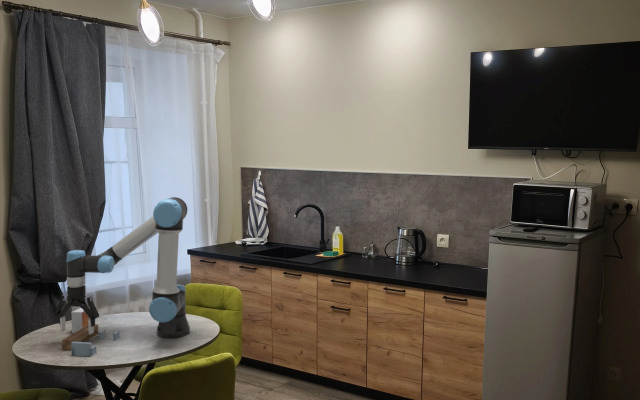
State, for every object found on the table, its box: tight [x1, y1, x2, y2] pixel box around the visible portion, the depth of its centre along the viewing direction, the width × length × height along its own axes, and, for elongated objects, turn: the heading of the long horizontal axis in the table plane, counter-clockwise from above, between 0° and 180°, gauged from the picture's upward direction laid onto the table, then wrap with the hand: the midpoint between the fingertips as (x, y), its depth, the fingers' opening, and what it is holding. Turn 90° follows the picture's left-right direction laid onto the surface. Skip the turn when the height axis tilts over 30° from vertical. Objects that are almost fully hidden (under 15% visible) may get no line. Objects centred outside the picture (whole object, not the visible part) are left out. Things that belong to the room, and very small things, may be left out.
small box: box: [71, 307, 90, 334], centre depth 266 cm, size 8×6×10 cm
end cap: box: [71, 341, 97, 357], centre depth 236 cm, size 8×5×6 cm, turn 81°
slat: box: [61, 323, 99, 352], centre depth 251 cm, size 4×22×5 cm, turn 172°
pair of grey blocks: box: [97, 329, 120, 341], centre depth 256 cm, size 8×4×3 cm, turn 81°
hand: (77, 332), depth 249 cm, fingers open, 13 cm apart
